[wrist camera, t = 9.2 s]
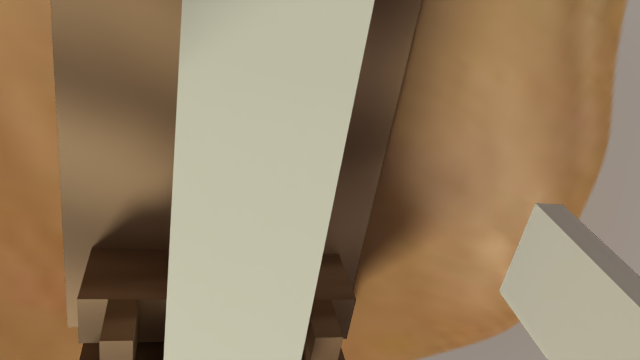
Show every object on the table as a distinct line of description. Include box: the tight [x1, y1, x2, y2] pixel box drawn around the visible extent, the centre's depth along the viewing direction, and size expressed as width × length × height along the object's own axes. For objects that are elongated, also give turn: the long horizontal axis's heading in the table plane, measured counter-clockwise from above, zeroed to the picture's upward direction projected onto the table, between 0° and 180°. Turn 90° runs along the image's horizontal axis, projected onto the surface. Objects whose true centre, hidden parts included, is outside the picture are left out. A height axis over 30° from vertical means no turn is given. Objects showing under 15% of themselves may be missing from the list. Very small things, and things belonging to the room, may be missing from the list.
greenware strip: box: [164, 0, 375, 360], centre depth 16 cm, size 16×4×4 cm, turn 170°
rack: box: [50, 0, 422, 360], centre depth 18 cm, size 20×12×7 cm, turn 171°
